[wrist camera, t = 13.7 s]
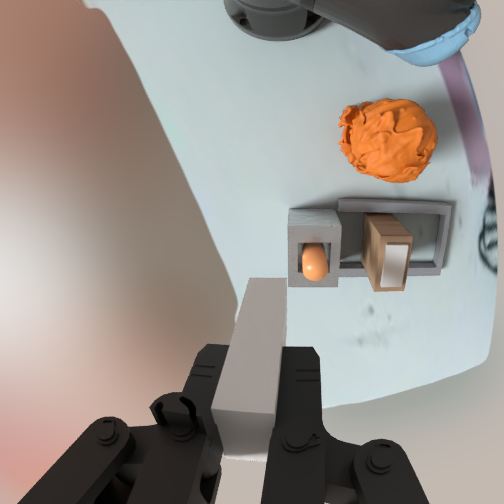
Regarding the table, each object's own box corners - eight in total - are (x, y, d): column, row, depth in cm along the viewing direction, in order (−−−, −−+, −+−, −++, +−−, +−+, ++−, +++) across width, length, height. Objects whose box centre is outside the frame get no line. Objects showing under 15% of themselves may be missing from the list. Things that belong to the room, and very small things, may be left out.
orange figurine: (414, 139, 39) (476, 152, 22) (367, 185, 43) (407, 224, 26) (364, 84, 37) (406, 62, 20) (315, 133, 41) (329, 138, 25)
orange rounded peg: (302, 239, 42) (302, 257, 37) (324, 239, 42) (329, 257, 36) (301, 260, 43) (302, 280, 38) (324, 260, 43) (327, 280, 37)
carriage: (364, 212, 44) (382, 237, 35) (391, 213, 44) (414, 238, 34) (360, 260, 48) (374, 293, 38) (386, 259, 47) (405, 293, 37)
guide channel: (337, 198, 44) (339, 201, 42) (446, 202, 42) (451, 205, 40) (334, 271, 49) (335, 277, 47) (435, 270, 46) (439, 275, 45)
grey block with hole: (288, 209, 46) (287, 225, 39) (334, 208, 45) (341, 225, 38) (289, 262, 50) (288, 287, 42) (332, 262, 49) (337, 287, 41)
